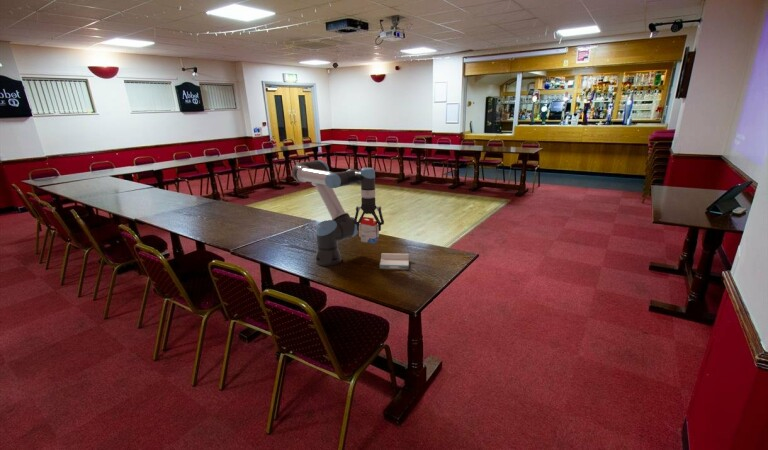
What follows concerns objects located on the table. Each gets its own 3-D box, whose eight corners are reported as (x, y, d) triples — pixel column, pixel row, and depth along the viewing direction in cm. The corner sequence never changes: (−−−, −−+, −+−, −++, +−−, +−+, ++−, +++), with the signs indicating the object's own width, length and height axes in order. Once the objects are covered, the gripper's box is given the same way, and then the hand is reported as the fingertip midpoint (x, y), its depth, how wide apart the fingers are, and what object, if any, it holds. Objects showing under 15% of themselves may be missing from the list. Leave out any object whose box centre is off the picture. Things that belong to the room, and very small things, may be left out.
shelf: (379, 269, 201) (379, 261, 199) (381, 260, 212) (381, 253, 211) (408, 269, 200) (408, 262, 198) (408, 260, 211) (408, 253, 210)
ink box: (378, 241, 203) (377, 215, 199) (374, 243, 199) (373, 218, 194) (364, 238, 207) (364, 214, 202) (360, 241, 202) (359, 216, 198)
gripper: (346, 198, 192) (348, 238, 199) (388, 198, 191) (388, 238, 197) (349, 195, 199) (350, 233, 206) (389, 195, 198) (389, 234, 205)
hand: (369, 236), depth 202 cm, fingers closed on ink box, 9 cm apart
